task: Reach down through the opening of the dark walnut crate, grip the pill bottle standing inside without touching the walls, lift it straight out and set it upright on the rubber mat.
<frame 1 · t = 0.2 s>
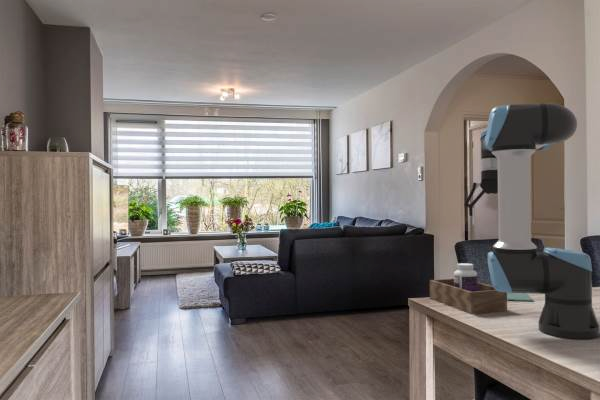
hand: (492, 224, 186), 28 cm above the table, fingers open, 13 cm apart
crate: (466, 304, 173), on the table
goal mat: (509, 297, 184), on the table
pill bottle: (466, 304, 173), resting in crate
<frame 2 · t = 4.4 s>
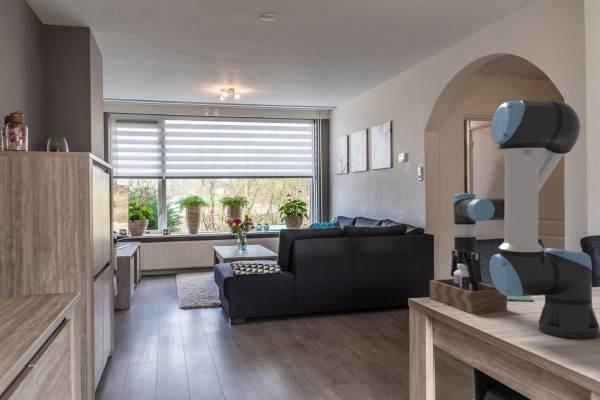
hand: (466, 299, 173), 2 cm above the table, fingers closed on pill bottle, 8 cm apart
pill bottle: (466, 304, 173), resting in crate, touching gripper
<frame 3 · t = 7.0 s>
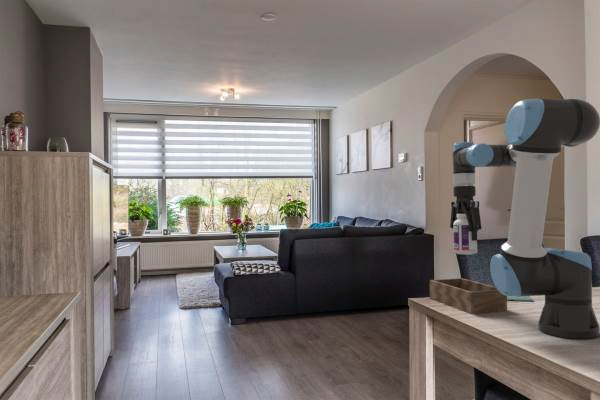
hand: (465, 248, 173), 20 cm above the table, fingers closed on pill bottle, 8 cm apart
pill bottle: (465, 254, 173), point 18 cm above the table, touching gripper
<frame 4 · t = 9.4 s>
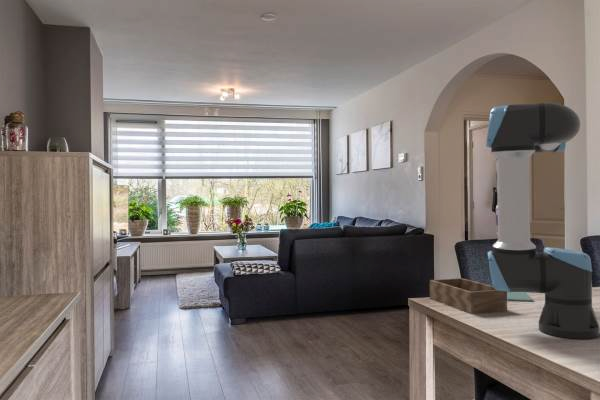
hand: (507, 231, 184), 25 cm above the table, fingers closed on pill bottle, 8 cm apart
pill bottle: (507, 236, 184), point 23 cm above the table, touching gripper
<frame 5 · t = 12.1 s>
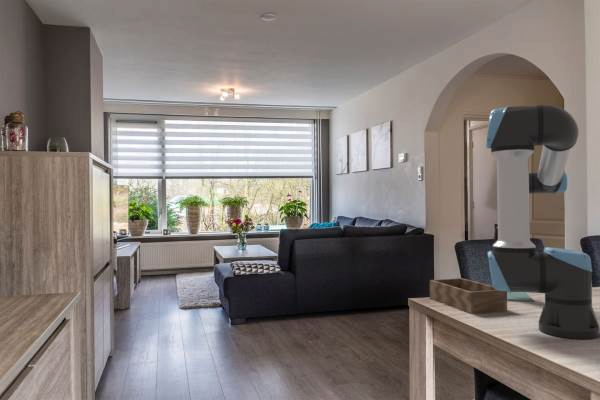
hand: (509, 268, 184), 11 cm above the table, fingers closed on pill bottle, 8 cm apart
pill bottle: (509, 273, 184), point 9 cm above the table, touching gripper
when the fingers open (4 cm above the table, at t = 14.4 s): pill bottle drops 2 cm, resting on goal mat.
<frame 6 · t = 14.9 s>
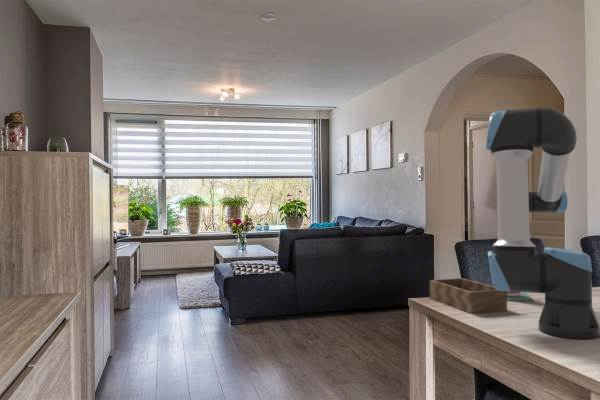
hand: (509, 282, 184), 5 cm above the table, fingers open, 13 cm apart
pill bottle: (509, 295, 184), resting on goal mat
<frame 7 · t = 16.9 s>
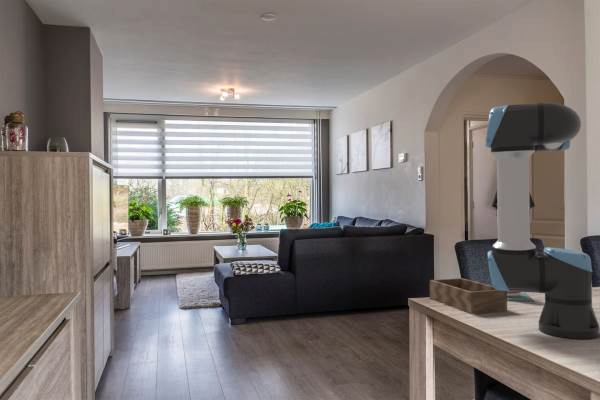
hand: (512, 226, 183), 27 cm above the table, fingers open, 13 cm apart
nothing on the table moved.
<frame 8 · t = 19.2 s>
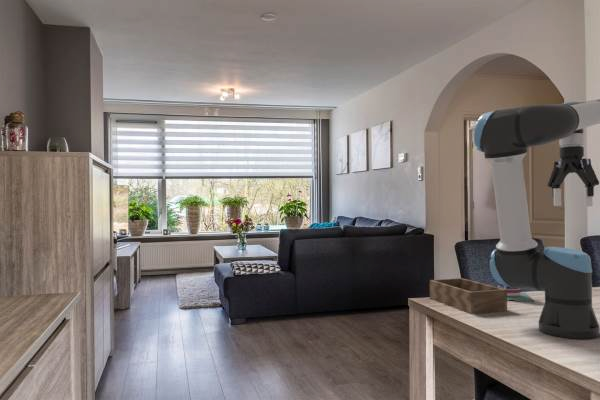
hand: (572, 206, 171), 35 cm above the table, fingers open, 13 cm apart
nothing on the table moved.
at the end: pill bottle inside the target area on the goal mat (0.1 cm from its centre), point 0.4 cm above the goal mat's base; pill bottle tilted 0°; the gripper is holding nothing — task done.
